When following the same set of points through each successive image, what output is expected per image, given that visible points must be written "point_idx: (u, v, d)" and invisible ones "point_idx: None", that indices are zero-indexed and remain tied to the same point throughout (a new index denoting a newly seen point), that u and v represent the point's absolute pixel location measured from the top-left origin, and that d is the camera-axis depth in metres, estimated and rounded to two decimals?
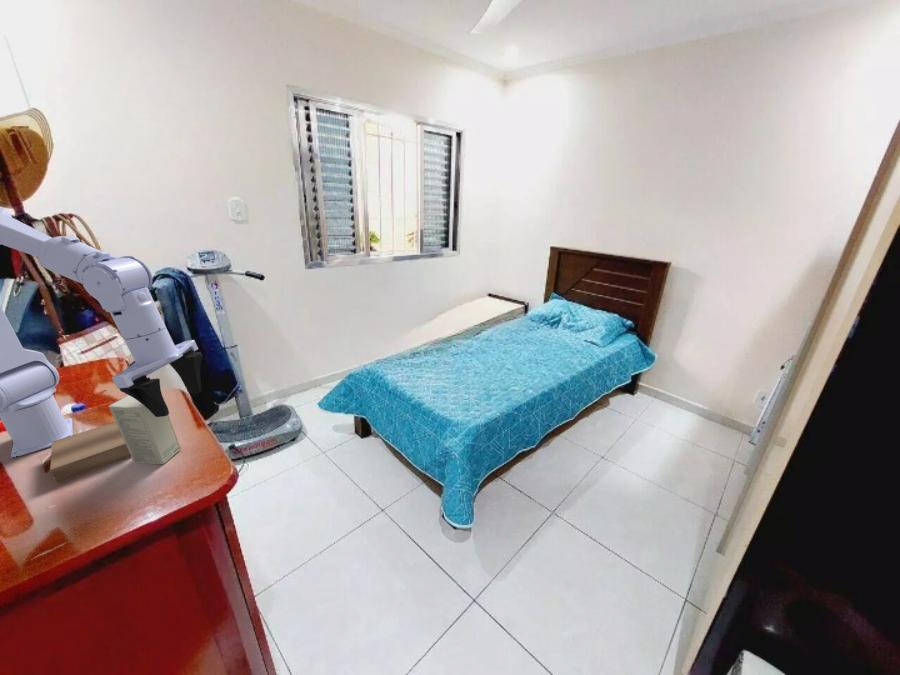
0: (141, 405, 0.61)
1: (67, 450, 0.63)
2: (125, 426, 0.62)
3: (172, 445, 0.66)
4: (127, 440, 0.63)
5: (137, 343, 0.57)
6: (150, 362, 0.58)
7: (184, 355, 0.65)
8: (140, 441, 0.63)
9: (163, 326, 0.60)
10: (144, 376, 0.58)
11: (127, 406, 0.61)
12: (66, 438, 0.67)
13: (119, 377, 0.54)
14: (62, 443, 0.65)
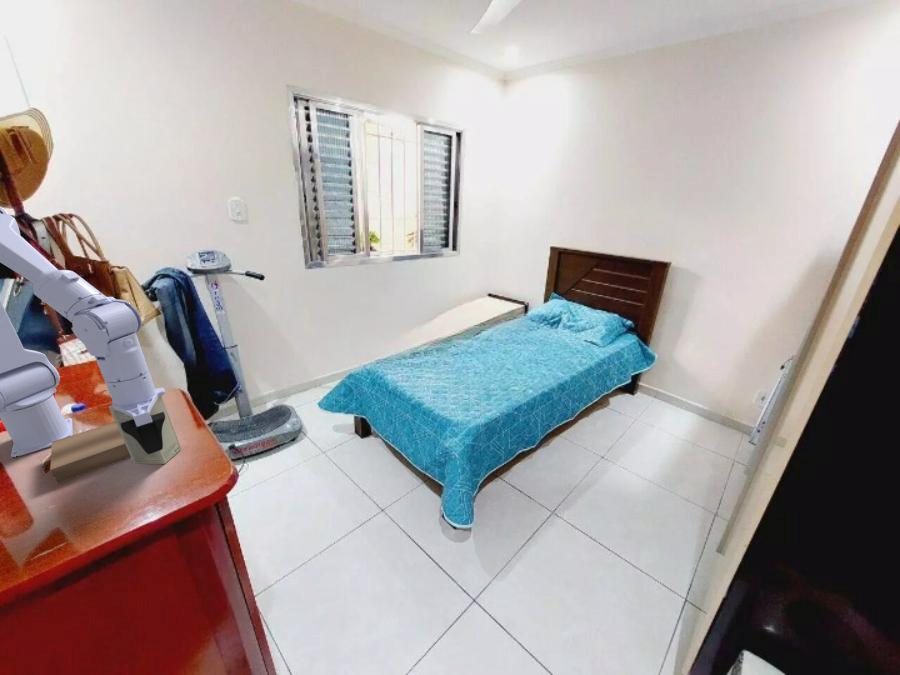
0: None
1: (67, 450, 0.63)
2: None
3: (173, 444, 0.66)
4: (127, 441, 0.63)
5: (137, 383, 0.59)
6: (147, 399, 0.61)
7: None
8: None
9: (145, 370, 0.61)
10: None
11: None
12: (66, 438, 0.67)
13: (144, 414, 0.57)
14: (62, 443, 0.65)
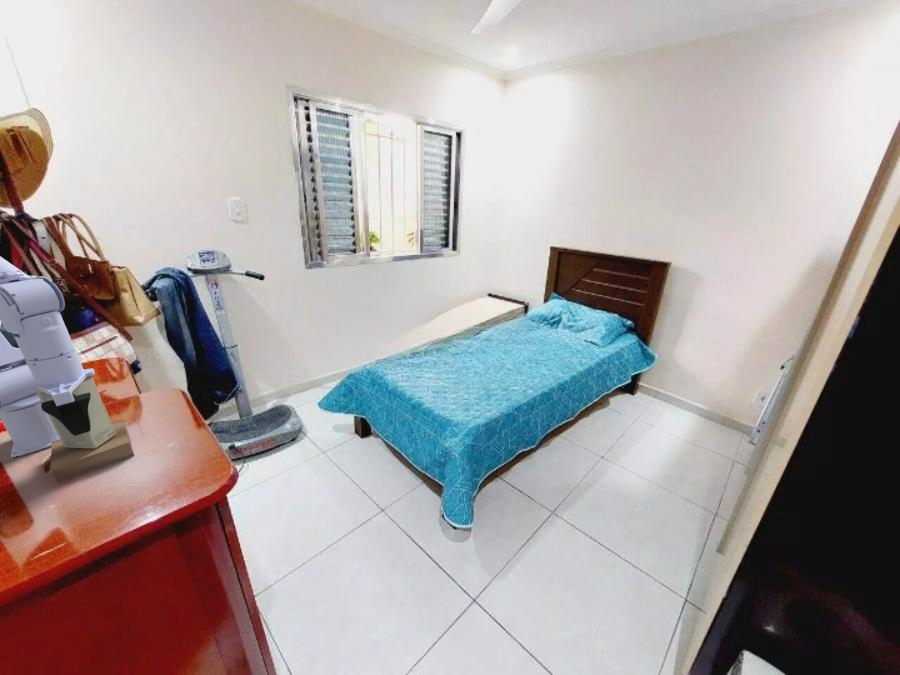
0: None
1: (67, 450, 0.63)
2: None
3: (106, 429, 0.65)
4: (56, 424, 0.62)
5: (59, 362, 0.58)
6: (72, 379, 0.60)
7: None
8: None
9: (68, 350, 0.59)
10: (72, 393, 0.59)
11: None
12: None
13: (64, 393, 0.56)
14: (62, 443, 0.65)
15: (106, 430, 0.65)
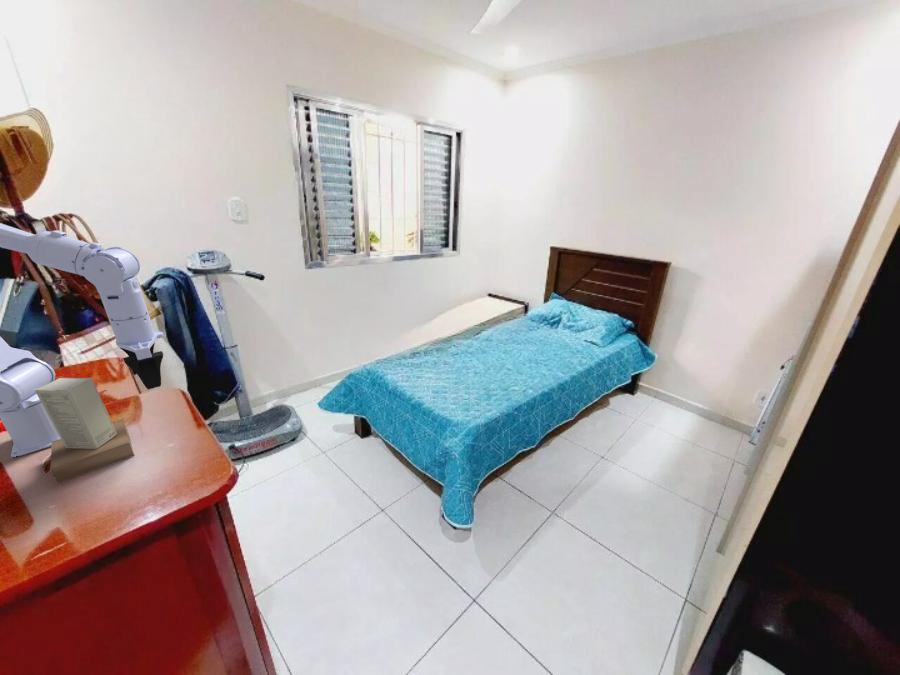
0: (69, 388, 0.60)
1: (67, 450, 0.63)
2: (53, 410, 0.61)
3: (107, 429, 0.65)
4: (57, 425, 0.62)
5: (138, 322, 0.66)
6: (147, 339, 0.68)
7: None
8: (71, 425, 0.62)
9: (147, 311, 0.68)
10: None
11: (54, 389, 0.59)
12: None
13: (144, 348, 0.64)
14: (62, 443, 0.65)
15: (107, 430, 0.66)
